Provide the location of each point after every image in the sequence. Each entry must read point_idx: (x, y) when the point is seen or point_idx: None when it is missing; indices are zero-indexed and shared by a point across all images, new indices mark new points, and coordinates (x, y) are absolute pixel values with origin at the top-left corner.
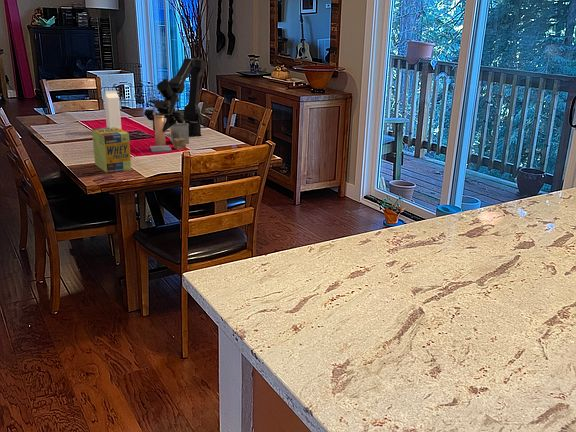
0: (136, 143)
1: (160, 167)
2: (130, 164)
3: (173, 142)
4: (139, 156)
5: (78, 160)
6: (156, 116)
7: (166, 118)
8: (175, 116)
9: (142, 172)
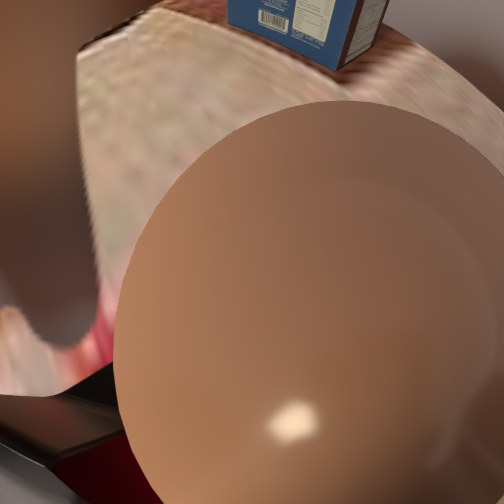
0: None
1: (135, 58)
2: (227, 8)
3: None
4: None
5: (447, 82)
6: (393, 107)
7: (106, 431)
8: None
9: (180, 19)
